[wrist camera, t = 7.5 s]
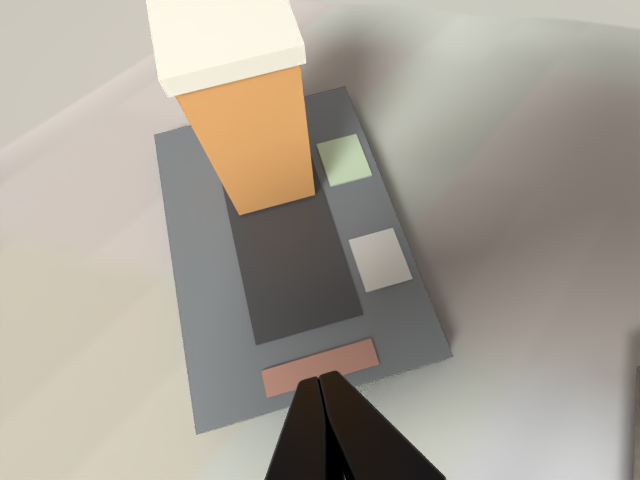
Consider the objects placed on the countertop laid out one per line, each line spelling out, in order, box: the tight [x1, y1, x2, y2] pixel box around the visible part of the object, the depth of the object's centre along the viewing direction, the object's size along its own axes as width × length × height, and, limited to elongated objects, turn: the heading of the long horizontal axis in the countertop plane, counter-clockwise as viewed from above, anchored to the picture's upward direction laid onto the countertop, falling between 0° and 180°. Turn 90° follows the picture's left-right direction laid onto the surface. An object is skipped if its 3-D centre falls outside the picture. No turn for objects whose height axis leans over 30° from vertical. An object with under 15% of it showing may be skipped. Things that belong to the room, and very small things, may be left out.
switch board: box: [154, 87, 453, 435], centre depth 18 cm, size 14×10×1 cm
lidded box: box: [146, 0, 315, 215], centre depth 14 cm, size 4×4×8 cm
